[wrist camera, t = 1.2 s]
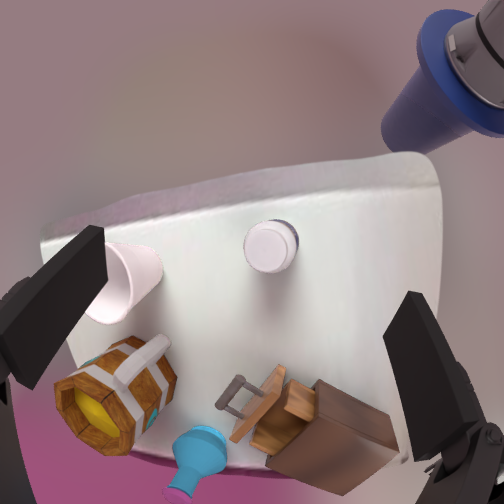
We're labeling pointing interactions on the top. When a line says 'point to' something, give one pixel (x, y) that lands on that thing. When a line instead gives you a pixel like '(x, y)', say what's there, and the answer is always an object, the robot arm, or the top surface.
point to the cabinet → (337, 443)
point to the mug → (117, 394)
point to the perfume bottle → (195, 462)
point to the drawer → (270, 411)
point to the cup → (125, 281)
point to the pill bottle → (271, 245)
